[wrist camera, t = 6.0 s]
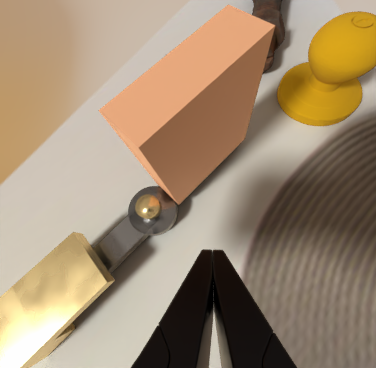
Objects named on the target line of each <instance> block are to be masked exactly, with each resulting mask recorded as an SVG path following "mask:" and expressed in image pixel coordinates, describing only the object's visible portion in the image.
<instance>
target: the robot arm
mask: <svg viewBox="0 0 376 368" xmlns="http://www.w3.org/2000/svg"><path fill="white" fill-rule="evenodd" d="M213 292H214V297H213ZM213 311H214V313H215V321H216V329H217V336H218V344H219V351H220V359H221V366H222V368H297V367H296V365H295V364H294V362H293V361H292V359H291V358H290V356H289V355H288V353H287V352H286V350H285V348H284V347H283V345H282V344H281V342H280V341H279V339H278V337H277V336H276V334H275V333H273V330H272V328H271V326H270V325H269V323H268V322H267V320H266V318H265V317H264V315H263V313H262V312H261V310H260V309H259V307H258V305H257V304H256V302H255V301H254V299H253V297H252V296H251V294H250V293H249V291H248V289H247V288H246V286H245V285H244V283H243V281H242V280H241V278H240V277H239V275H238V273H237V272H236V270H235V269H234V267H233V265H232V264H231V262H230V261H229V259H228V257H227V256H226V254H225V253H224V251H223V250H213V255H212V250H202V251H201V252H200V254H199V256H198V257H197V259H196V261H195V263H194V264H193V266H192V268H191V269H190V271H189V273H188V274H187V276H186V278H185V280H184V281H183V283H182V285H181V286H180V288H179V290H178V292H177V293H176V295H175V297H174V298H173V300H172V302H171V303H170V305H169V307H168V309H167V310H166V312H165V314H164V315H163V317H162V319H161V320H160V322H159V326H157V327H156V329H155V331H154V332H153V334H152V336H151V337H150V339H149V341H148V342H147V344H146V345H145V347H144V349H143V350H142V352H141V353H140V355H139V356H138V358H137V359H136V361H135V362H134V364H133V365H132V366H131V368H209V358H210V346H211V335H212V324H213Z"/></svg>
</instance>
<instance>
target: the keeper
mask: <svg viewBox="0 0 376 368" xmlns="http://www.w3.org/2000/svg"><path fill="white" fill-rule="evenodd" d="M114 281H115V280H114V278H113V277H112V275H111V274H110V273H109V271H108V270H107V268H106V267H105V265H104V264H103V262H102V261H101V260H100V258H99V257H98V255H97V254H96V252H95V251H94V250H93V248H92V247H91V245H90V244H89V242H88V241H87V240H86V238H85V237H84V235H83V234H81V233H75V232H73V233H72V234H71V235H69V236H68V237H67V238H66V239H65V240H64V241H63V242H62V243H60V244H59V245H58V246H57V247H56V248H55V249H54V250H53V251H51V252H50V253H49V254H48V255H47V256H46V257H45V258H44V259H43V260H41V261H40V262H39V263H38V264H37V265H36V266H35V267H34V268H32V269H31V270H30V271H29V272H28V273H27V274H26V275H25V276H23V277H22V278H21V279H20V280H19V281H18V282H17V283H16V284H14V285H13V286H12V287H11V288H10V289H9V290H8V291H7V292H6V293H4V294H3V295H2V296H1V297H0V368H29V367H31V366H33V365H34V364H36V363H38V362H39V361H41V360H42V359H44V358H46V357H47V356H48V355H49V354H50V353H51V352H52V351H53V350H54V349H55V348H56V347H57V346H58V345H59V344H60V343H61V342H62V341H63V340H64V339H65V338H66V337H67V336H68V335H69V334H70V333H71V332H72V331H73V330H74V329H75V326H74V324H73V321H74V320H75V319H76V318H77V317H78V316H79V315H80V314H81V313H82V312H83V311H84V310H85V309H86V308H87V307H88V306H89V305H90V304H91V303H92V302H93V301H94V300H95V299H96V298H97V297H98V296H99V295H100V294H101V293H103V292H104V291H105V290H106V289H107V288H108V287H109V286H110V285H111V284H112V283H113V282H114Z"/></svg>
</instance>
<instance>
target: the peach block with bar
mask: <svg viewBox="0 0 376 368" xmlns="http://www.w3.org/2000/svg"><path fill="white" fill-rule="evenodd" d="M274 29H275V25H273V24H271V23H269V22H266V21H264V20H262V19H260V18H257V17H255V16H253V15H251V14H248V13H246V12H244V11H241V10H239V9H237V8H235V7H232V6H230V5H227V6H226V7H225V8H224V9H222V10H221V11H220V12H219V13H217V14H216V15H215V16H214V17H213V18H211V19H210V20H209V21H208V22H206V23H205V24H204V25H203V26H202V27H200V28H199V29H198V30H197V31H195V32H194V33H193V34H192V35H191V36H189V37H188V38H187V39H186V40H184V41H183V42H182V43H181V44H179V45H178V46H177V47H176V48H175V49H173V50H172V51H171V52H170V53H168V54H167V55H166V56H165V57H164V58H162V59H161V60H160V61H159V62H157V63H156V64H155V65H154V66H153V67H151V68H150V69H149V70H148V71H146V72H145V73H144V74H143V75H142V76H140V77H139V78H138V79H137V80H135V81H134V82H133V83H132V84H130V85H129V86H128V87H127V88H126V89H124V90H123V91H122V92H121V93H119V94H118V95H117V96H116V97H115V98H113V99H112V100H111V101H110V102H108V103H107V104H106V105H105V106H104V107H102V108H101V109H100V110H99V112H100V113H101V114H102V115H103V117H104V118H105V119H106V120H107V122H108V123H109V124H110V125H111V127H112V128H113V129H114V130H115V132H116V133H117V134H118V135H119V137H120V138H121V139H122V140H123V142H124V143H125V144H126V145H127V147H128V148H129V149H130V150H131V152H132V153H133V154H134V155H135V157H136V158H137V159H138V160H139V162H140V163H141V164H142V165H143V167H144V168H145V169H146V170H147V172H148V173H149V174H150V175H151V177H152V178H153V179H154V180H155V182H156V183H157V184H158V185H159V186H160V187H157V186H152V187H147V188H144V189H142V190H141V191H139V192H138V193H137V194H136V195H135V196H134V197H133V199H132V200H131V202H130V205H129V209H128V216H127V217H126V218H125V219H123V220H122V221H121V222H120V223H119V224H118V225H117V226H116V227H115V228H114V229H113V230H112V231H111V232H110V233H109V234H108V235H107V236H106V237H105V238H104V239H103V240H102V241H100V242H99V243H98V244H97V245H96V246H95V247H94V248H93V250H94V251H95V252H96V254H97V255H98V257H99V258H100V260H101V261H102V262H103V264H104V265H105V267H106V268H107V270H108V271H109V273H110V274H111V273H112V272H113V271H114V270H115V269H116V268H117V267H118V266H119V265H120V264H121V263H122V262H123V261H124V260H125V259H126V258H127V257H128V256H129V255H130V254H131V253H132V252H133V251H134V250H135V249H136V248H137V247H138V246H139V245H140V244H141V243H142V242H143V241H144V240H145V239H146V238H147V237H148V236H149V235H153V236H155V235H161V234H163V233H165V232H167V231H168V230H169V229H170V228H171V227H172V226H173V225H174V223H175V221H176V219H177V215H178V207H177V204H178V205H180V204H181V203H182V202H183V201H184V200H185V199H186V198H187V197H188V196H189V195H190V194H191V193H192V192H193V191H194V190H195V189H196V188H197V187H198V186H199V185H200V184H201V183H202V182H203V181H204V180H205V179H206V178H207V177H208V176H209V175H210V174H211V173H212V172H213V171H214V170H215V169H216V168H217V167H218V166H219V165H220V164H221V163H222V162H223V161H224V160H225V159H226V158H227V157H228V156H229V155H230V154H231V153H232V152H233V151H234V150H235V149H236V148H237V147H238V146H239V145H240V144H241V142H242V141H243V140H244V139H245V136H246V132H247V129H248V125H249V121H250V118H251V114H252V110H253V106H254V103H255V99H256V95H257V92H258V88H259V84H260V81H261V77H262V73H263V69H264V66H265V62H266V58H267V55H268V51H269V47H270V43H271V40H272V36H273V32H274ZM146 194H150V195H153V196H154V197H156V198H157V199H158V200H159V201H160V203H161V205H162V211H161V214H160V215H159V216H158V217H157V218H156V219H153V220H147V219H145V218H143V217H141V216H139V215H138V214H137V212H136V210H135V204H136V202H137V200H138V199H139V198H140V197H141V196H143V195H146Z"/></svg>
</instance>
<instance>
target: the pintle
mask: <svg viewBox="0 0 376 368" xmlns="http://www.w3.org/2000/svg"><path fill="white" fill-rule="evenodd" d="M135 210H136V212H137V214H138V215H139V216H141V217H143V218H145V219H147V220H153V219H156V218H157V217H158V216H159V215H160V214H161V211H162V205H161V203H160V201H159V200H158V199H157V198H156V197H154V196H153V195H150V194H146V195H143V196H141V197H140V198H139V199H138V200H137V202H136V204H135Z"/></svg>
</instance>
